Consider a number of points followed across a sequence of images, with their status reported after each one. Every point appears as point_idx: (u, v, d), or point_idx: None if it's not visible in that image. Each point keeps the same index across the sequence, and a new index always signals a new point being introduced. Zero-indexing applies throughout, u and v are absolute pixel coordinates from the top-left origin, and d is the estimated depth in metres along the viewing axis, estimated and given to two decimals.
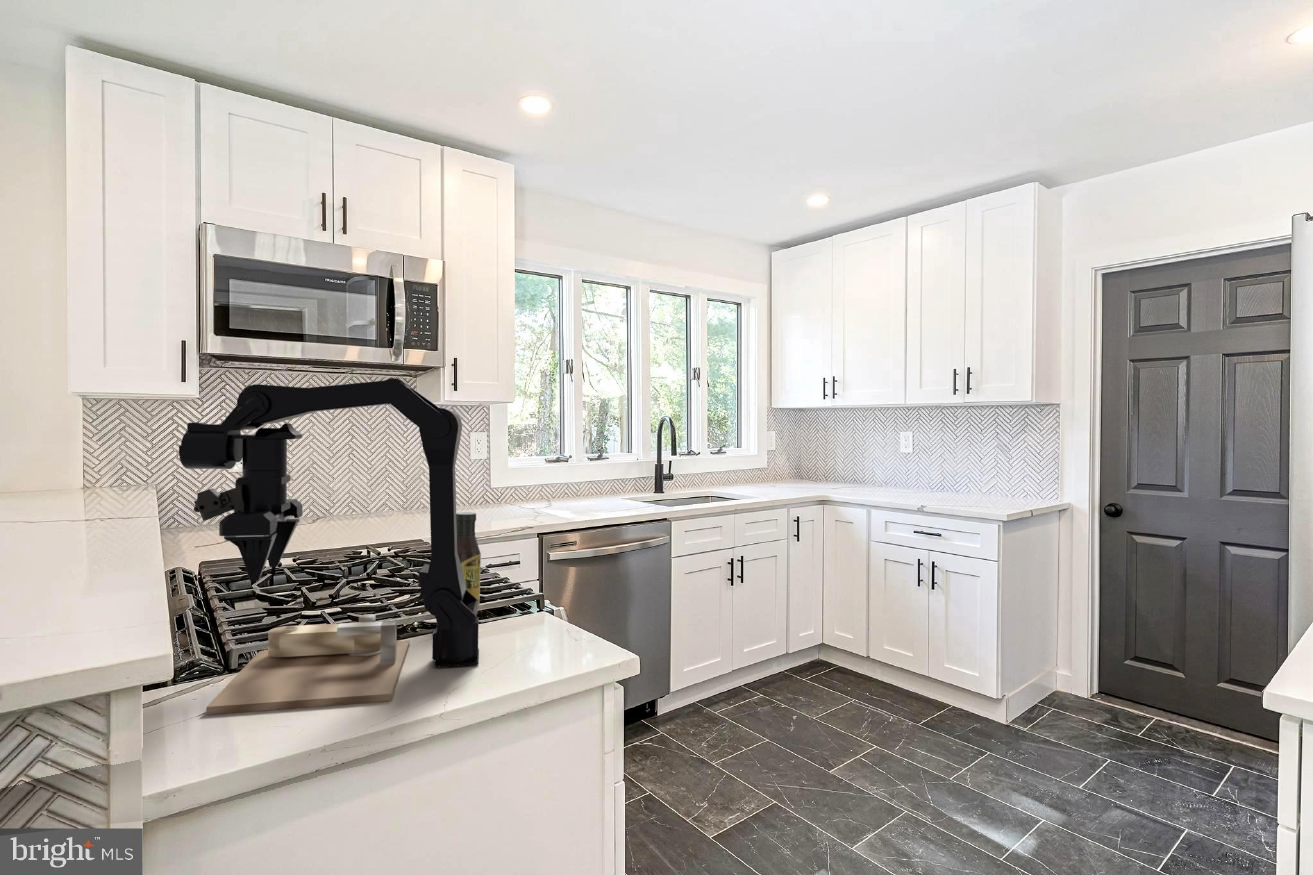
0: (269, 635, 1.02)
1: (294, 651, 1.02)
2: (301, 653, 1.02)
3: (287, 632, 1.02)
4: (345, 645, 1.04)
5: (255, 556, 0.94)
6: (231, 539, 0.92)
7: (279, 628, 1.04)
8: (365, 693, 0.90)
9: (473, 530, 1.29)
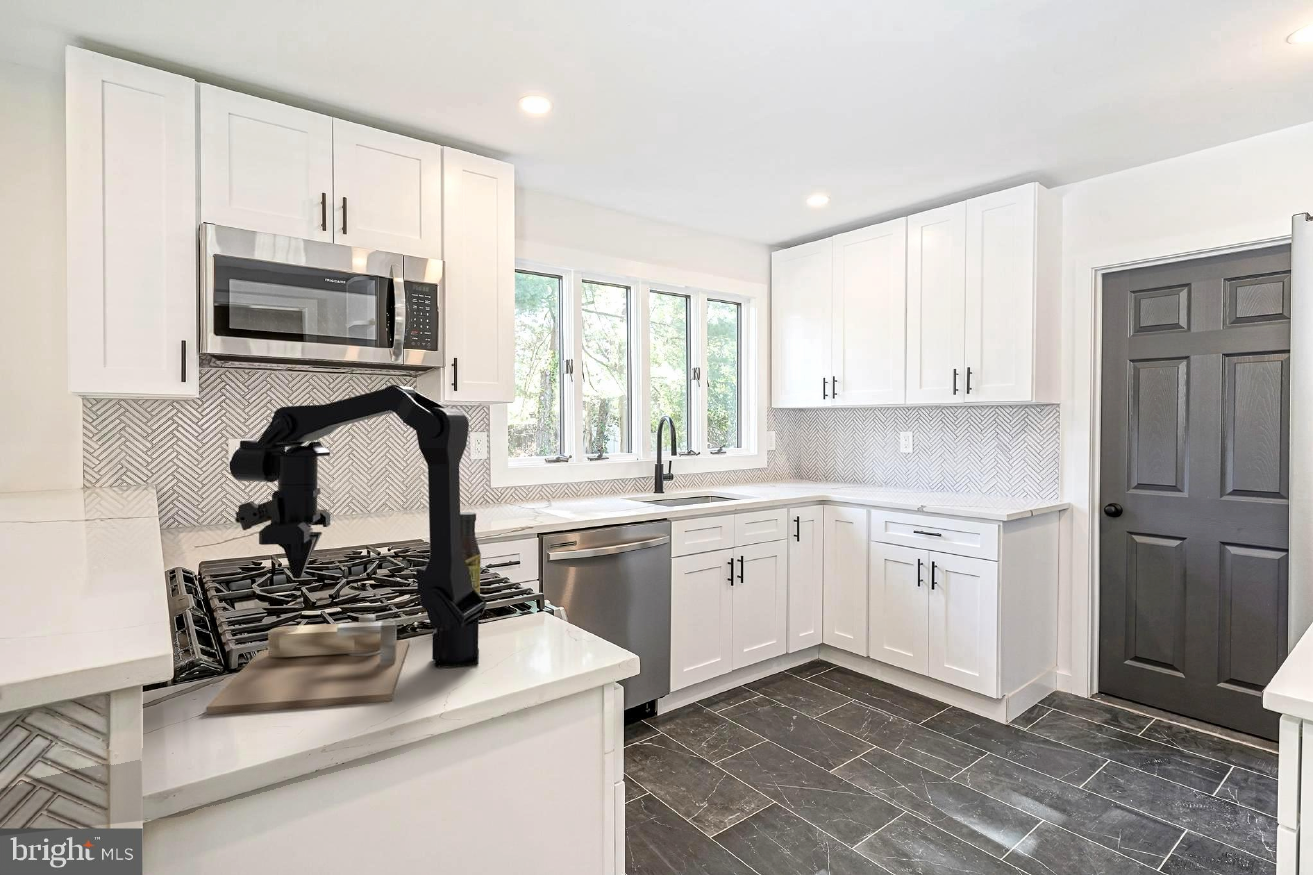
0: (269, 635, 1.02)
1: (294, 651, 1.02)
2: (301, 653, 1.02)
3: (287, 632, 1.02)
4: (345, 645, 1.04)
5: (298, 557, 1.09)
6: None
7: (279, 628, 1.04)
8: (365, 693, 0.90)
9: (473, 530, 1.29)
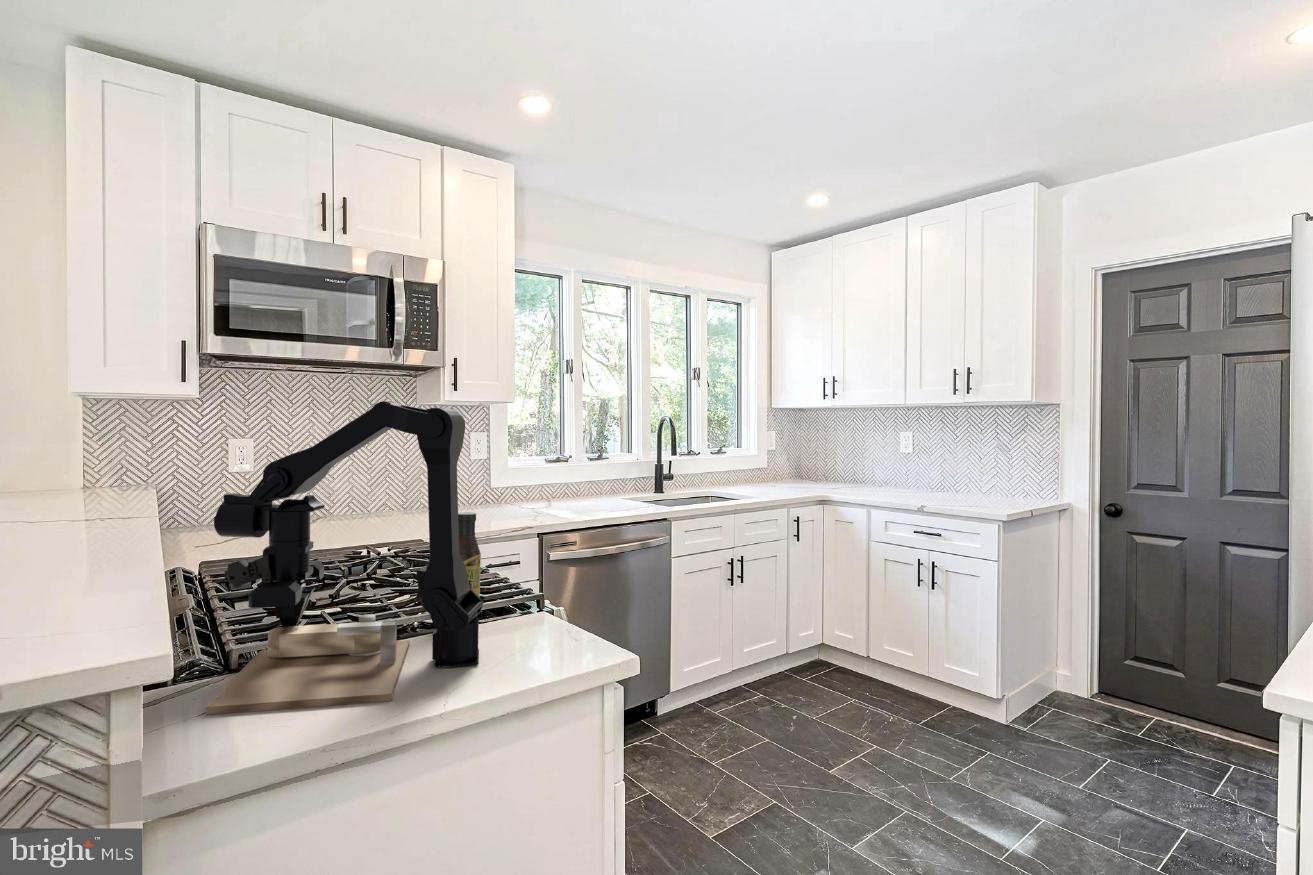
0: (269, 635, 1.01)
1: (294, 651, 1.02)
2: (301, 653, 1.02)
3: (287, 632, 1.02)
4: (346, 645, 1.04)
5: (290, 614, 1.05)
6: None
7: (278, 629, 1.04)
8: (365, 693, 0.90)
9: (473, 530, 1.29)
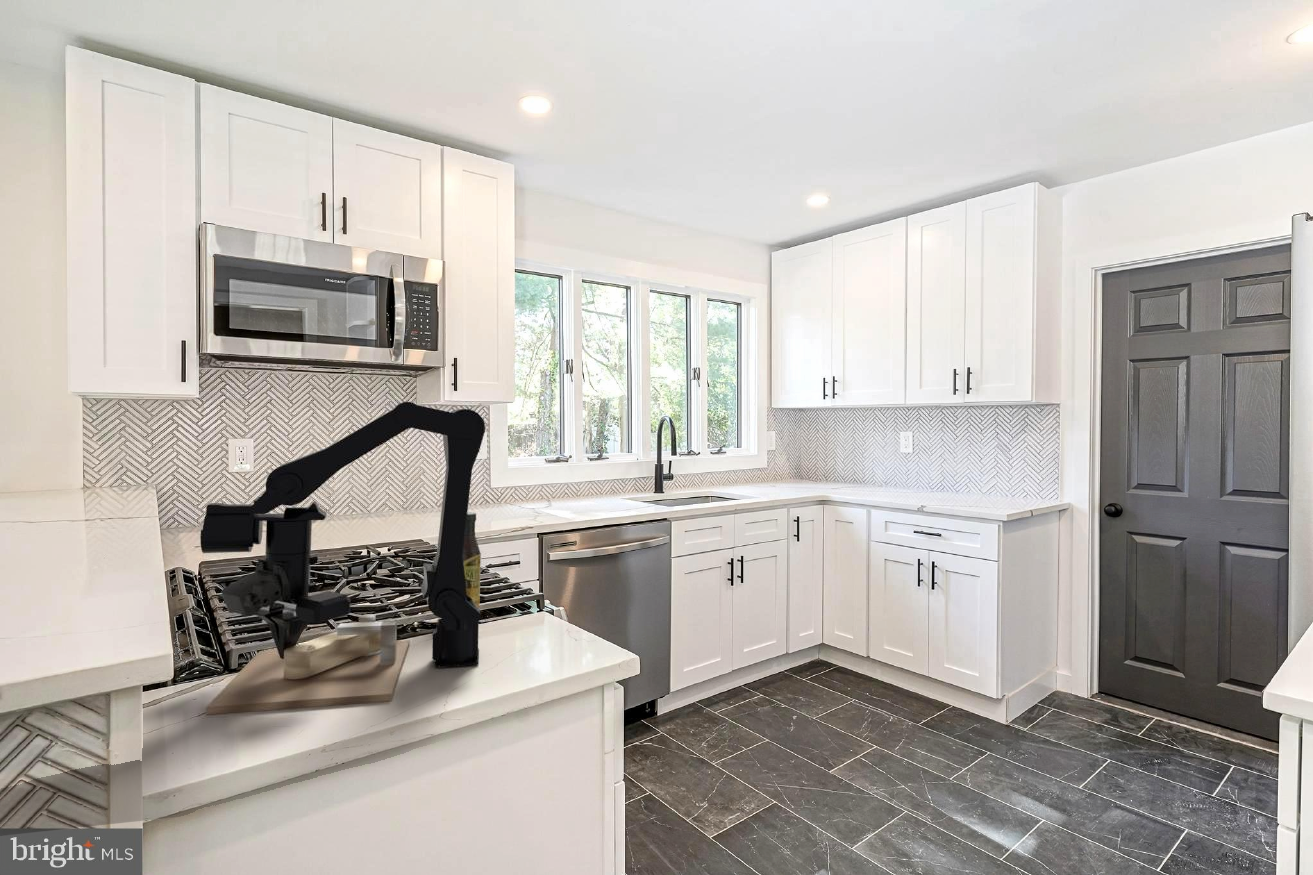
0: (295, 656, 0.93)
1: (322, 666, 0.96)
2: (328, 666, 0.97)
3: (312, 648, 0.95)
4: (362, 647, 1.03)
5: (294, 632, 0.96)
6: (292, 619, 0.93)
7: (290, 650, 0.95)
8: (365, 693, 0.90)
9: (473, 530, 1.29)
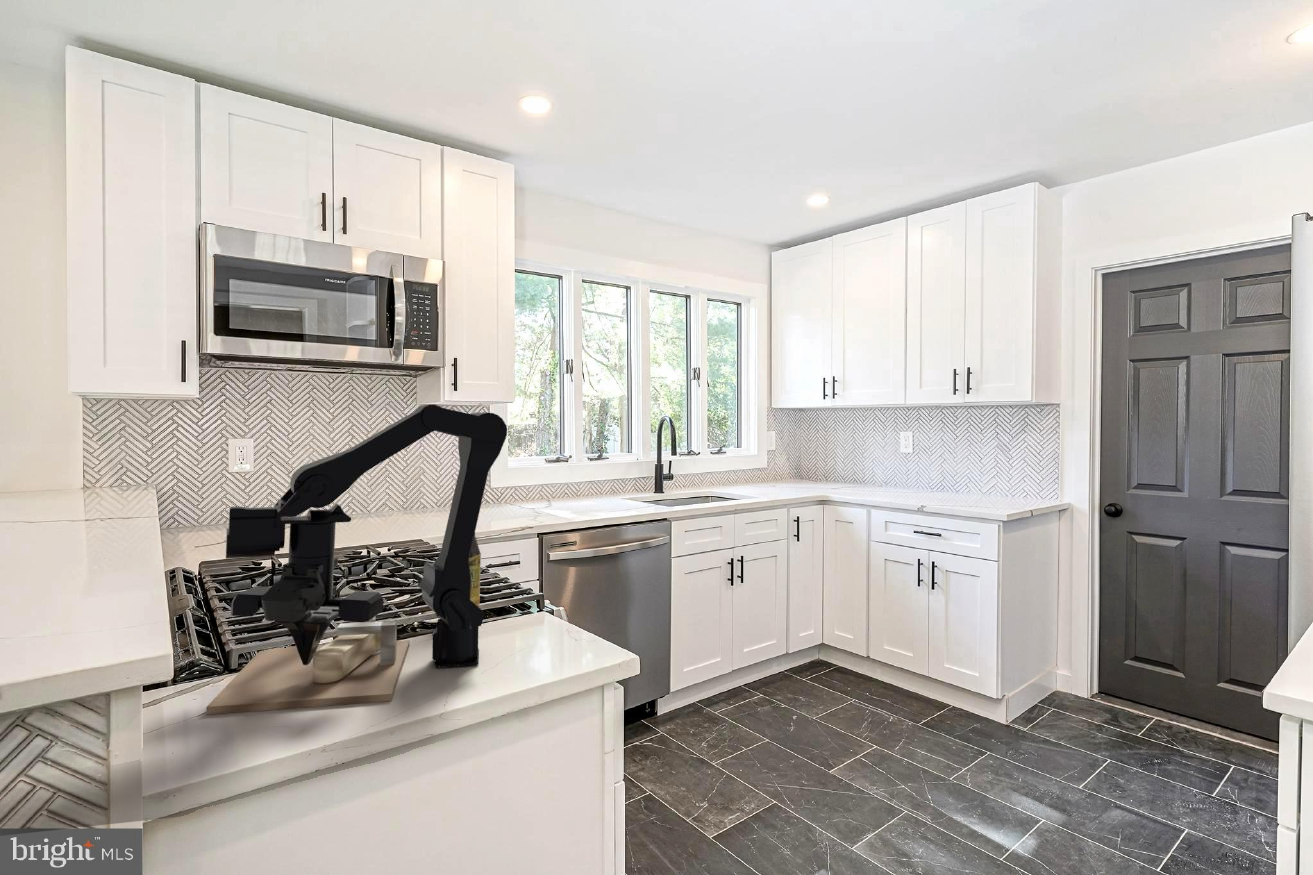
0: (331, 659, 0.92)
1: (349, 666, 0.96)
2: (352, 667, 0.97)
3: (341, 650, 0.95)
4: (371, 646, 1.03)
5: (318, 637, 0.95)
6: (327, 622, 0.92)
7: (320, 654, 0.93)
8: (365, 693, 0.90)
9: None
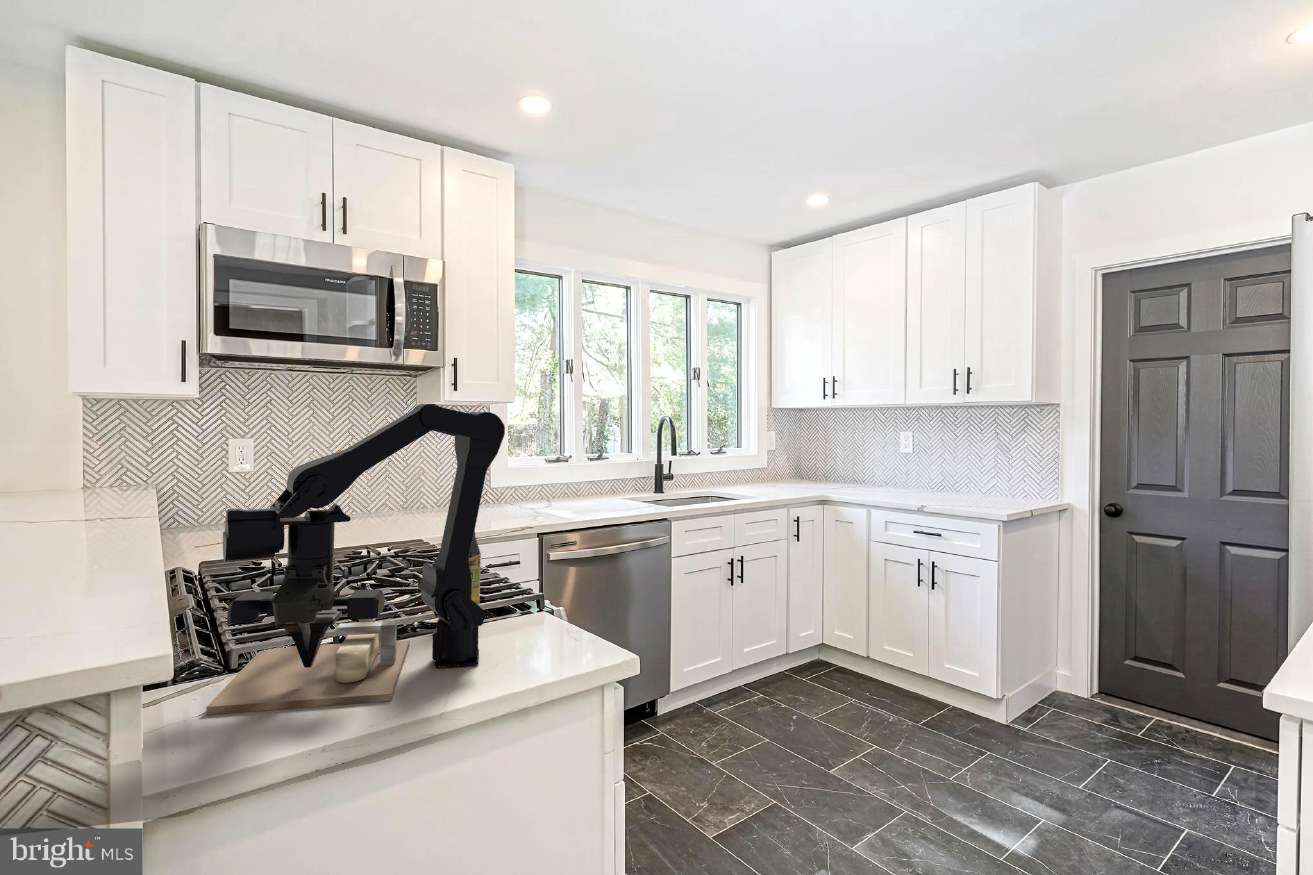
0: (357, 658, 0.93)
1: (369, 665, 0.97)
2: (370, 665, 0.98)
3: (362, 649, 0.96)
4: (377, 645, 1.04)
5: (320, 638, 0.94)
6: (334, 622, 0.92)
7: (343, 654, 0.93)
8: (365, 693, 0.90)
9: None
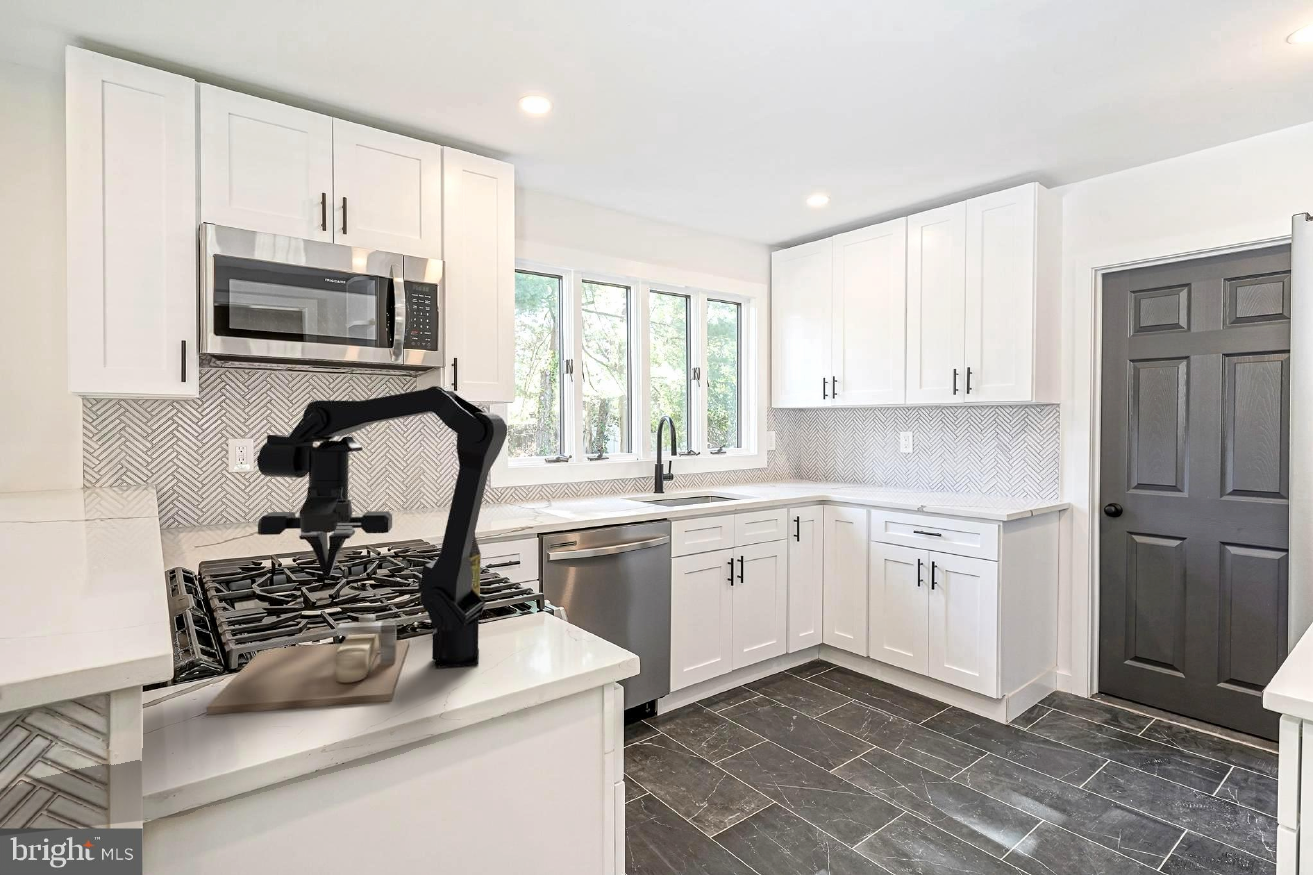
0: (357, 658, 0.93)
1: (369, 665, 0.97)
2: (370, 665, 0.98)
3: (362, 649, 0.96)
4: (377, 645, 1.04)
5: (337, 552, 1.08)
6: (350, 536, 1.06)
7: (343, 654, 0.93)
8: (365, 693, 0.90)
9: None
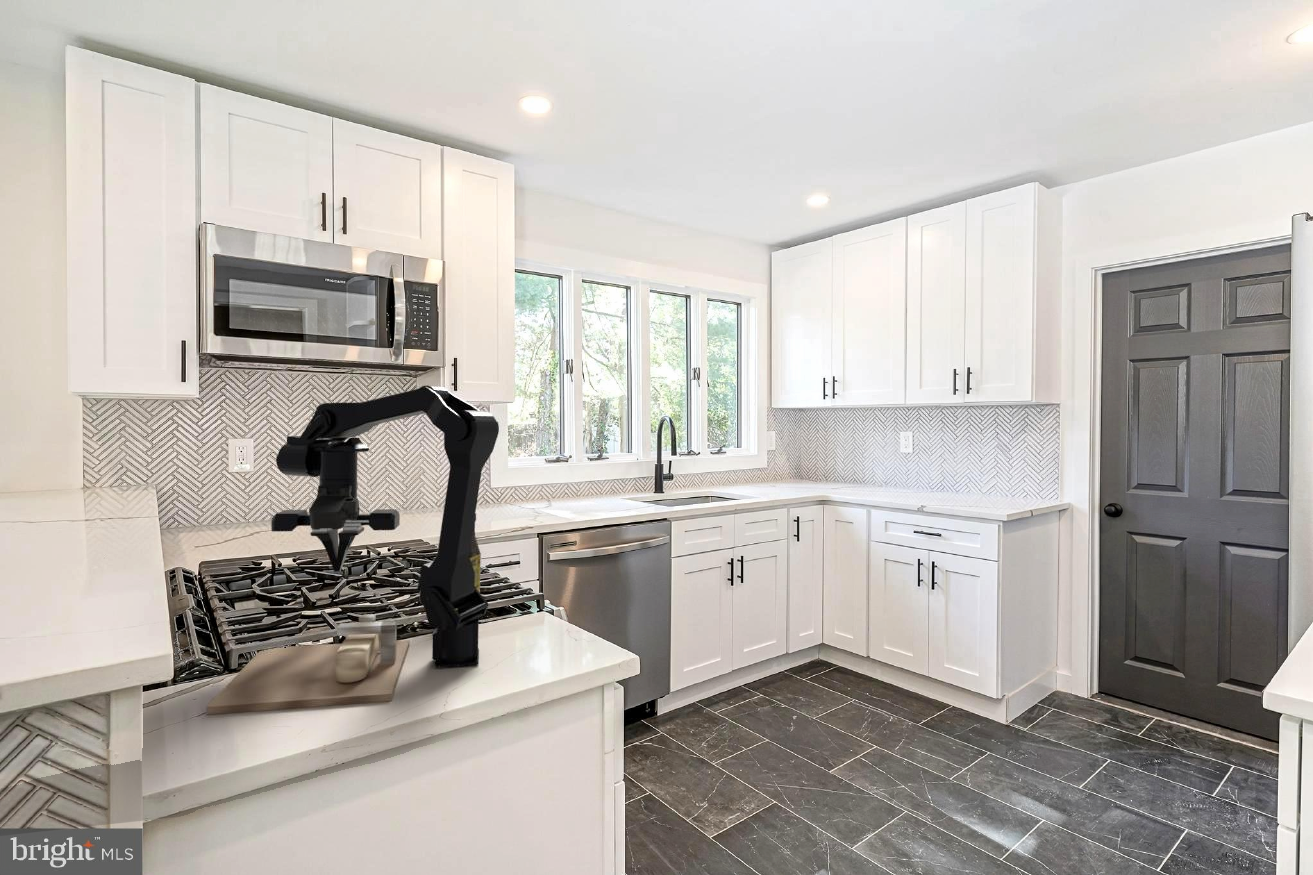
0: (357, 658, 0.93)
1: (369, 665, 0.97)
2: (370, 665, 0.98)
3: (362, 649, 0.96)
4: (377, 645, 1.04)
5: (347, 548, 1.13)
6: (358, 533, 1.11)
7: (343, 654, 0.93)
8: (365, 693, 0.90)
9: (473, 530, 1.29)
